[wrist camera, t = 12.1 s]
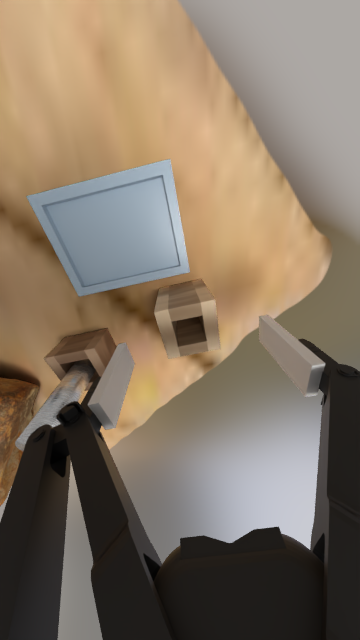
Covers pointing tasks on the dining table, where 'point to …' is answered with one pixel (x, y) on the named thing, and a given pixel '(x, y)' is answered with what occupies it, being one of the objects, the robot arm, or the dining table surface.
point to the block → (187, 319)
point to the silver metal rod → (60, 398)
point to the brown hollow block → (82, 353)
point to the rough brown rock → (13, 427)
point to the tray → (115, 228)
